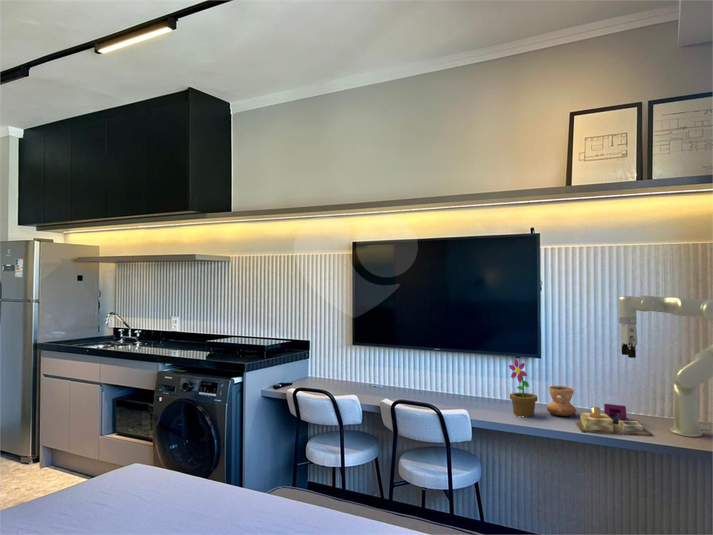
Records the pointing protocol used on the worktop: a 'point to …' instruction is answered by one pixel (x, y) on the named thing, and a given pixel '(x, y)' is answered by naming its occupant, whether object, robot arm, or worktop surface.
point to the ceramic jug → (561, 401)
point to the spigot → (595, 412)
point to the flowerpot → (522, 394)
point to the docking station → (610, 426)
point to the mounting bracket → (615, 411)
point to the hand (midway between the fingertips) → (628, 356)
